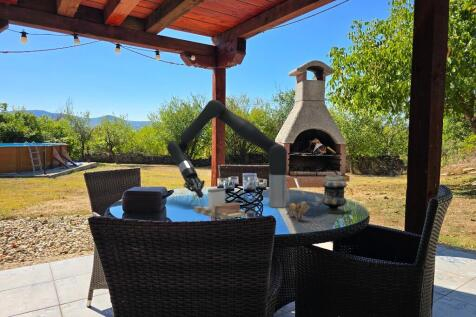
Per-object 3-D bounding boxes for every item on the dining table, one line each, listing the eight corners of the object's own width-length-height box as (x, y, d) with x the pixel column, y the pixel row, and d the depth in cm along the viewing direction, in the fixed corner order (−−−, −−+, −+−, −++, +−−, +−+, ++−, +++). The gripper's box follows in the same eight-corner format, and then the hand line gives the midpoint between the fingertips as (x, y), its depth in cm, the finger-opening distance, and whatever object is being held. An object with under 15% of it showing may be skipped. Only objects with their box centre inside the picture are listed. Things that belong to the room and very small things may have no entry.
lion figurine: (310, 221, 149) (311, 201, 148) (301, 223, 146) (301, 202, 146) (290, 215, 162) (291, 196, 161) (281, 216, 159) (281, 197, 159)
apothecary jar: (350, 214, 165) (351, 177, 164) (327, 215, 162) (328, 177, 161) (338, 208, 177) (339, 174, 175) (317, 209, 174) (317, 174, 173)
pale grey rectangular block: (208, 210, 163) (208, 189, 163) (221, 207, 169) (221, 188, 168) (212, 211, 161) (212, 190, 160) (225, 208, 166) (225, 188, 166)
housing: (193, 211, 169) (193, 200, 168) (212, 208, 177) (212, 197, 176) (225, 220, 151) (225, 207, 151) (244, 216, 159) (244, 204, 159)
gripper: (179, 167, 175) (193, 193, 167) (200, 165, 184) (214, 190, 176) (174, 176, 179) (187, 202, 171) (194, 174, 188) (208, 199, 180)
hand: (201, 196), depth 174 cm, fingers closed
